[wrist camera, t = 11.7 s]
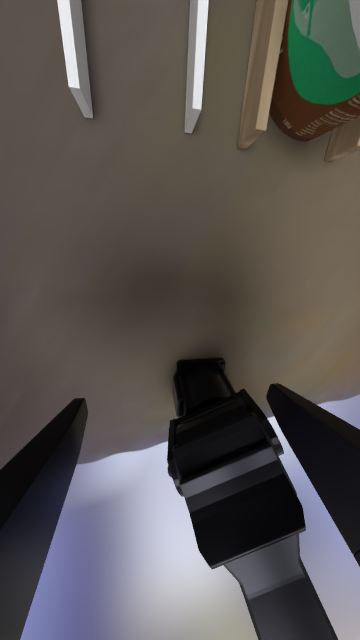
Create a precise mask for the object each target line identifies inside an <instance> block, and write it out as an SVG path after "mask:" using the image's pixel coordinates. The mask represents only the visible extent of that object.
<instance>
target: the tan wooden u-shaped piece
mask: <svg viewBox="0 0 360 640" xmlns="http://www.w3.org/2000/svg"><path fill="white" fill-rule="evenodd" d="M287 6H288V0H257V2H256V10H255V18H254V25H253V33H252V40H251V48H250V56H249V63H248V71H247V78H246V86H245V94H244V101H243V109H242V116H241V124H240V132H239V139H238V147H237V148H240V149H247V148H248V147H249V146H250V145H251V144H252V143H253V142H254V141H255V140H256V139H257V138H258V137H260V136H261V135H262V134H263V133H264V132H265V131H266V127H267V121H268V115H269V109H270V104H271V98H272V92H273V86H274V81H275V75H276V69H277V63H278V58H279V52H280V46H281V40H282V35H283V29H284V23H285V17H286V11H287ZM359 149H360V117H358V118H356V119H354V120H352V121H350V122H348V123H345V124H343V125H341V126H339V127H337V128H335V129H333V131H332V135H331V138H330V142H329V146H328V149H327V153H326V156H325V160H324V161H330V162H332V161H334V160H336V159H339V158H341V157H343V156H346V155H348V154H350V153H353V152H355V151H357V150H359Z"/></svg>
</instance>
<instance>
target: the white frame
mask: <svg viewBox="0 0 360 640" xmlns="http://www.w3.org/2000/svg"><path fill="white" fill-rule="evenodd" d="M57 1H58V9H59V16H60V24H61V31H62V39H63V46H64V54H65V61H66V69H67V76H68V84H69V88H70V90H71V92H72V94H73V96H74V98H75V100H76V101H77V103H78V105H79V107H80V109H81V111H82V113H83V115H84V117H85V118H92V119H93V111H92V101H91V92H90V82H89V72H88V62H87V52H86V43H85V33H84V23H83V13H82V4H81V0H57ZM208 2H209V0H190V16H189V39H188V62H187V86H186V109H185V132H184V133H191V134H192V132H193V129H194V127H195V124H196V122H197V119H198V117H199V114H200V112H201V106H202V91H203V76H204V61H205V46H206V31H207V17H208Z"/></svg>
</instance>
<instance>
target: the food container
mask: <svg viewBox="0 0 360 640" xmlns="http://www.w3.org/2000/svg"><path fill="white" fill-rule="evenodd" d="M269 113H270V115H271V117H272V119H273V120H274V122H275V123H276V125H277V126H278V127H279V129H281V130H282V131H283V132H284V133H285V134H286V135H288V136H290V137H291V138H294V139H297V140H300V141H309V140H311V139H313V138H316V137H318V136H320V135H322V134H324V133H326V132H328V131H330V130H333V129H335V128H337V127H339V126H341V125H343V124H345V123H348V122H350V121H352V120H354V119H356V118H358V117H360V0H288V6H287V11H286V17H285V23H284V29H283V35H282V40H281V46H280V52H279V58H278V63H277V69H276V75H275V81H274V86H273V92H272V98H271V104H270V109H269Z"/></svg>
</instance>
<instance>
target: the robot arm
mask: <svg viewBox="0 0 360 640" xmlns="http://www.w3.org/2000/svg"><path fill="white" fill-rule="evenodd" d="M220 362H222V363H220ZM180 364H182V365H180ZM224 368H225V360H224V359H223V358H218V359H200V360H182V361H178V362H177V368H176V376H174V377H173V396H174V402H175V409H176V415H177V416H178V417H180V418H177V419H173V420H170V428H169V439H168V456H167V461H168V474H169V476H170V477H172V478H173V481H174V484H175V487H176V489H177V491H178V492H179V494H180V495H181V496H184V497H185V500H186V503H187V506H188V510H189V513H190V517H191V521H192V524H193V529H194V532H195V537H196V541H197V544H198V549H199V551H200V553H201V554H202V556H203V557H204V559H205V560H206V562H207V563H208V565H209V566H210V568H211V569H215V568H217V567H219V566H222V565H224V566H225V567H226V568H227V570H228V571H229V572H230V573H231V574H232V575H233V576H234V577H235V578H236V580H237V581H238V582H239V584H240V587H241V589H242V592H243V595H244V598H245V601H246V604H247V607H248V610H249V613H250V616H251V619H252V622H253V625H254V628H255V631H256V634H257V636H258V639H259V640H338V638H337V636H336V634H335V632H334V629H333V627H332V625H331V623H330V621H329V619H328V617H327V614H326V612H325V610H324V608H323V606H322V603H321V601H320V600H319V597H318V595H317V593H316V591H315V589H314V586H313V584H312V582H311V580H310V578H309V576H308V573H307V572H306V569H305V567H304V565H303V563H302V560H301V558H300V548H299V533H301V532H303V531H305V530H306V528H305V520H304V514H303V508H302V505H301V503H300V501H299V499H298V497H297V493H296V491H295V489H294V486H293V484H292V482H291V480H290V479H289V476H288V474H287V472H286V470H285V469H284V466H283V464H282V462H281V460H280V458H279V457H278V456H279V455H282V454H284V451H283V448H282V445H281V443H280V441H279V440H278V437H277V435H276V433H275V431H274V429H273V428H272V426H271V424H270V423H269V421H268V419H267V417H266V416H265V414H264V413H263V412H262V410H261V409H260V408H259V407H258V405H257V404H256V403H255V402H254V400H253V399H252V398H251V397H250V395H249V394H248V393H247V392H246V390H245V389H242V390H239V391H240V392H237V393H236V392H235V390H234V389H233V387H232V385H231V384H230V382H229V380H228V378H227V377H226V375H225V373H224ZM266 398H267V401H268V403H269V405H270V408H271V410H272V412H273V414H274V416H275V418H276V420H277V422H278V425H279V427H280V428H281V430H282V432H283V434H284V436H285V438H286V439H287V441H288V443H289V445H290V446H291V448H292V450H293V452H294V453H295V455H296V457H297V458H298V460H299V462H300V464H301V465H302V467H303V469H304V471H305V472H306V474H307V476H308V478H309V479H310V481H311V483H312V484H313V486H314V488H315V490H316V491H317V493H318V495H319V497H320V498H321V500H322V502H323V503H324V505H325V507H326V509H327V510H328V512H329V514H330V516H331V517H332V519H333V521H334V523H335V524H336V526H337V528H338V529H339V531H340V533H341V535H342V536H343V538H344V540H345V542H346V543H347V545H348V547H349V549H350V550H351V552H352V554H354V557H355V559H356V561H357V563H358V564H359V566H360V430H359V429H358V428H356V427H354V426H352V425H351V424H349V423H347V422H346V421H344V420H342V419H340V418H339V417H337V416H335V415H333V414H331V413H329V412H328V411H326V410H324V409H323V408H321V407H319V406H318V405H316V404H314V403H312V402H311V401H309V400H307V399H305V398H304V397H302V396H300V395H298V394H297V393H295V392H293V391H291V390H290V389H288V388H286V387H284V386H283V385H281V384H278V383H276V384H271V385H270V387H269V389H268V392H267V395H266ZM87 416H88V410H87V404H86V400H85V398H76V399H74V400H72V401H71V402H70V403H69V404H68V405H67V406H66V407H65V408H64V409H63V410H62V411H61V412H60V413H59V414H58V415H57V416H56V417H55V418H54V419H53V420H52V421H51V422H50V423H48V424H47V425H46V426H45V427H44V428H43V429H42V430H41V431H40V432H39V433H38V434H37V435H36V436H35V437H34V438H33V439H32V440H31V441H30V442H29V443H28V444H27V445H26V446H25V447H24V448H23V449H21V450H20V451H19V452H18V453H17V454H16V455H15V456H14V457H13V458H12V459H11V460H10V461H9V462H8V463H7V464H6V465H5V466H4V467H3V468H2V469H1V470H0V640H20V638H21V635H22V632H23V628H24V626H25V622H26V619H27V616H28V613H29V610H30V607H31V604H32V601H33V598H34V594H35V591H36V588H37V585H38V582H39V579H40V576H41V573H42V569H43V567H44V563H45V560H46V557H47V554H48V551H49V548H50V545H51V541H52V539H53V535H54V532H55V529H56V526H57V523H58V520H59V516H60V514H61V511H62V507H63V504H64V501H65V498H66V495H67V492H68V489H69V486H70V483H71V480H72V476H73V473H74V470H75V467H76V464H77V461H78V457H79V454H80V449H81V445H82V440H83V435H84V431H85V426H86V421H87Z"/></svg>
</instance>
